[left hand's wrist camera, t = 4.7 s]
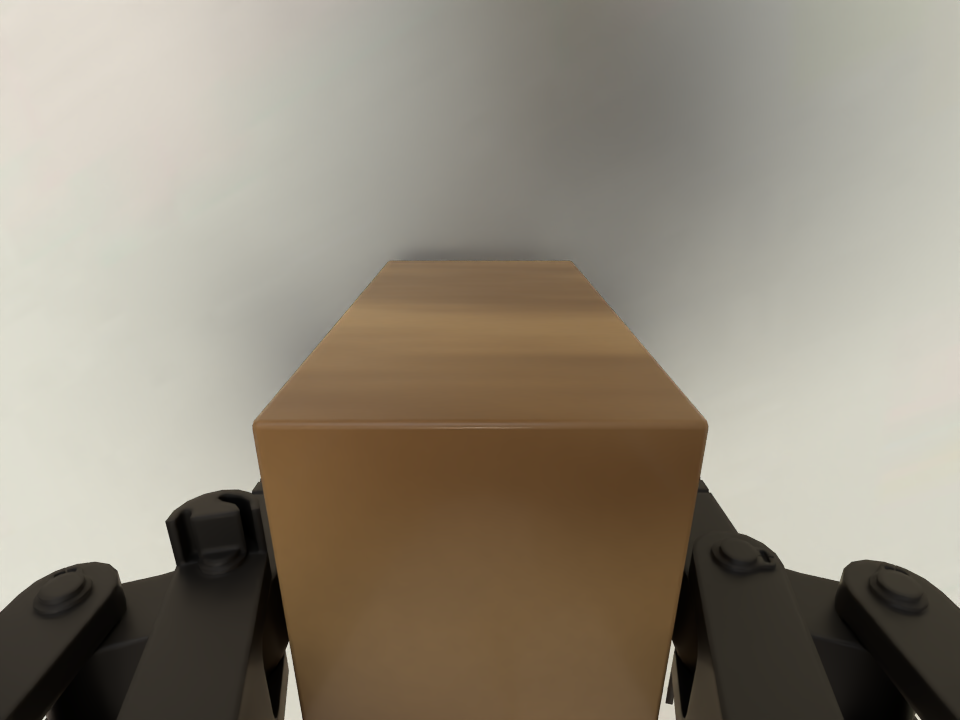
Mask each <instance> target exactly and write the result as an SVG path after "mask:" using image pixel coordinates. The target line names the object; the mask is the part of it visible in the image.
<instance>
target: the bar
mask: <svg viewBox="0 0 960 720" xmlns="http://www.w3.org/2000/svg"><path fill="white" fill-rule="evenodd" d="M252 427H253V434H254V440H255V446H256V452H257V457H258V463H259V469H260V475H261V481H262V486H263V492H264V498H265V504H266V510H267V515H268V521H269V527H270V533H271V538H272V544H273V550H274V556H275V562H276V567H277V573H278V579H279V585H280V591H281V596H282V602H283V608H284V614H285V619H286V625H287V631H288V637H289V643H290V648H291V654H292V660H293V666H294V672H295V677H296V683H297V689H298V695H299V700H300V706H301V712H302V718H303V720H658V715H659V710H660V704H661V698H662V692H663V687H664V681H665V675H666V669H667V664H668V658H669V652H670V646H671V640H672V635H673V629H674V623H675V617H676V612H677V606H678V600H679V594H680V589H681V583H682V577H683V571H684V566H685V560H686V554H687V548H688V543H689V537H690V531H691V525H692V520H693V514H694V508H695V502H696V497H697V491H698V485H699V479H700V474H701V468H702V462H703V456H704V451H705V445H706V439H707V433H708V423H707V420H706V419H705V418H704V417H703V416H702V415H701V413H700V412H699V411H698V410H697V409H696V408H695V406H694V405H693V404H692V403H691V402H690V400H689V399H688V398H687V397H686V396H685V395H684V393H683V392H682V391H681V390H680V389H679V387H678V386H677V385H676V384H675V383H674V382H673V380H672V379H671V378H670V377H669V376H668V374H667V373H666V372H665V371H664V370H663V369H662V367H661V366H660V365H659V364H658V363H657V361H656V360H655V359H654V358H653V357H652V356H651V354H650V353H649V352H648V351H647V350H646V349H645V347H644V346H643V345H642V344H641V343H640V341H639V340H638V339H637V338H636V337H635V336H634V334H633V333H632V332H631V331H630V330H629V328H628V327H627V326H626V325H625V324H624V323H623V321H622V320H621V319H620V318H619V317H618V315H617V314H616V313H615V312H614V311H613V310H612V308H611V307H610V306H609V305H608V304H607V302H606V301H605V300H604V299H603V298H602V297H601V295H600V294H599V293H598V292H597V291H596V290H595V288H594V287H593V286H592V285H591V284H590V282H589V281H588V280H587V279H586V278H585V277H584V275H583V274H582V273H581V272H580V271H579V269H578V268H577V267H576V266H575V265H574V264H573V262H571V261H389V262H388V263H387V264H386V265H385V266H384V267H383V269H382V270H381V271H380V272H379V273H378V274H377V276H376V277H375V278H374V279H373V280H372V282H371V283H370V284H369V285H368V286H367V287H366V289H365V290H364V291H363V292H362V293H361V295H360V296H359V297H358V298H357V299H356V301H355V302H354V303H353V304H352V305H351V306H350V308H349V309H348V310H347V311H346V312H345V314H344V315H343V316H342V317H341V318H340V319H339V321H338V322H337V323H336V324H335V325H334V327H333V328H332V329H331V330H330V331H329V333H328V334H327V335H326V336H325V337H324V338H323V340H322V341H321V342H320V343H319V344H318V346H317V347H316V348H315V349H314V350H313V352H312V353H311V354H310V355H309V356H308V357H307V359H306V360H305V361H304V362H303V363H302V365H301V366H300V367H299V368H298V369H297V370H296V372H295V373H294V374H293V375H292V376H291V378H290V379H289V380H288V381H287V382H286V384H285V385H284V386H283V387H282V388H281V389H280V391H279V392H278V393H277V394H276V395H275V397H274V398H273V399H272V400H271V401H270V402H269V404H268V405H267V406H266V407H265V408H264V410H263V411H262V412H261V413H260V414H259V416H258V417H257V418H256V419H255V420H254V423H253V426H252Z"/></svg>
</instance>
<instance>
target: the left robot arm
mask: <svg viewBox="0 0 960 720" xmlns="http://www.w3.org/2000/svg"><path fill="white" fill-rule="evenodd" d="M165 522H166V526H167V530H168V534H169V538H170V541H171V545H172V549H173V553H174V557H175V561H176V565H177V566H176V569H175V571H173V572H169V573H166V574H163V575H159V576H154V577H150V578H145V579H141V580H136V581H132V582H127V583H123V584H121V581H120V578H119V575H118V571H117V570H116V569H115V568H113V567H112V566H111V565H110V564H106V563H99V562H90V563H82V564H76V565H73V566H69V567H67V568H63V569H60V570H57V571H55V572H53V573H51V574H49V575H47V576H45V577H43V578H41V579H40V580H38V581H36V582H34V583H33V584H32V585H31V586H29V587H28V588H27V589H25V590H24V591H23V592H21V593H20V594H19V595H18V596H17V597H16V598H15V599H14V600H13V601H12V602H11V603H10V604H8V605H7V606H6V607H5V608H4V609H3V610H2V611H1V612H0V720H42V719H43V718H44V717H45V715H46V717H47V718H46V719H45V720H284V715H285V705H286V694H287V684H288V674H289V669H288V663H287V657H286V651H285V650H286V647H287V645H288V642H289V637H288V631H287V625H286V619H285V614H284V608H283V602H282V596H281V591H280V585H279V579H278V573H277V567H276V562H275V556H274V550H273V544H272V538H271V533H270V527H269V521H268V515H267V510H266V504H265V498H264V492H263V486H262V481H261V479H260V482H258V483H257V485H256V486H255V488H254V489H253V491H252V493H250V492H246V491H242V490H220V491H216V492H211V493H207V494H203V495H201V496H199V497H196V498H194V499H192V500H189V501H187V502H186V503H184V504H183V505H181V506H180V507H179V508H177V509H176V510H174V511H173V513H172V514H171V515H170V516H169V518H168V519H167V520H166V521H165ZM672 641H673V644H674V646H675V651H674V657H673V662H672V668H671V673H670V679H669V685H668V690H667V697H666V703H667V704H673V699H674V704H675V714H676V720H918V719H917V718H916V717H915V714H916V713H917V715H918V716H919V717H920V719H921V720H960V608H959V607H958V606H956V605H955V604H954V603H953V602H952V601H951V600H950V599H949V598H948V597H947V596H946V595H945V594H944V593H943V592H942V591H940V590H939V589H938V588H936V587H935V586H934V585H932V584H931V583H930V582H929V581H927V580H926V579H924V578H922V577H920V576H918V575H916V574H914V573H913V572H911V571H909V570H907V569H905V568H902V567H899V566H895V565H893V564H889V563H886V562H881V561H873V560H861V561H854V562H851V563H850V564H849V565H848V566H846V567H845V568H844V570H843V573H842V576H841V579H840V582H839V581H834V580H830V579H825V578H821V577H816V576H812V575H807V574H803V573H799V572H795V571H792V570H788V569H785V568H784V565H783V564H782V562H781V561H780V559H779V558H778V556H777V555H776V553H774V552H773V551H772V550H771V549H769V548H768V547H767V546H766V545H764V544H763V543H761V542H759V541H757V540H755V539H753V538H751V537H749V536H747V535H743V534H739V533H738V532H737V531H736V529H735V528H734V526H733V525H732V523H731V522H730V520H729V519H728V517H727V516H726V514H725V513H724V511H723V510H722V509H721V507H720V506H719V504H718V503H717V501H716V500H715V498H714V497H713V495H712V494H711V493H709V489H708V488H707V486H706V485H705V483H704V482H703V480H700V479H699V485H698V491H697V497H696V502H695V508H694V514H693V520H692V525H691V531H690V537H689V543H688V548H687V554H686V560H685V566H684V571H683V577H682V583H681V589H680V594H679V600H678V606H677V612H676V617H675V623H674V629H673V635H672Z"/></svg>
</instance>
